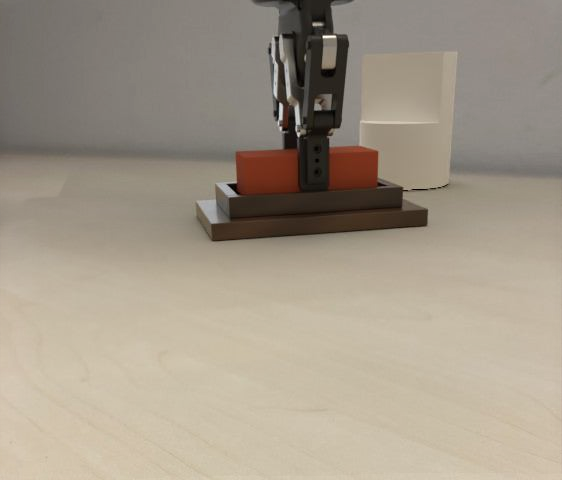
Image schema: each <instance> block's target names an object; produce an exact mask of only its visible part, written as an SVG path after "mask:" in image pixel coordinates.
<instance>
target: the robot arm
mask: <svg viewBox="0 0 562 480" xmlns="http://www.w3.org/2000/svg"><path fill="white" fill-rule="evenodd" d="M354 1H355V0H250V2H251V3H253V5H256V6H258V7H263V8H276V9H277V10H278V14H279V16H278V24H277V35H272V37H271V42H269V43H268V47H267V55H268V60H269V72H270V83H271V84H270V86H271V96H272V97H271V98H272V117H273V119H274V121H275V122H277V127H278V129H279V132H281V140H282V143H281V144H282V149H297V155H298V187H299V188H300V190H302V191H315V190H327V189H328V187H329V147H330V137H333V135H334V133H335V130H337V129H338V130H339V129H340V128H341V126H342V122H343V108H344V97H345V88H346V87H345V86H346V78H347V65H348V56H349V49H350V41H349V36H348V34H346V33H337V32H335V31H334V29H335V28H334V26H335V25H334V19H333V9H332V7H334V6H341V5H346V4H347V5H348V4H350V3H352V2H354ZM315 104H318V105H319V106H320V108H321V109H318V110H317V109H316V110H315V106H316V105H315Z"/></svg>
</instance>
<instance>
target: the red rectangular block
mask: <svg viewBox="0 0 562 480" xmlns="http://www.w3.org/2000/svg"><path fill="white" fill-rule="evenodd" d="M235 171H236V173H235V175H236V182H237V191H238V192H239V193H240V194H241V195H248V194H265V193H281V192H298V191H302V190H300V188H299V187H298V155H297V149H283V148H281V149H280V148H279V149H260V150H259V149H257V150H240V151H239V150H237V151H235ZM377 184H378V151H376V150H373V149H369V148H366V147H362V146H359V145H343V146H341V145H340V146H329V187H328V189H327V190H332V189H348V188H365V187H377Z"/></svg>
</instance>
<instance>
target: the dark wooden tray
mask: <svg viewBox="0 0 562 480" xmlns="http://www.w3.org/2000/svg"><path fill="white" fill-rule="evenodd" d="M214 191H215V194H214V195H215V199H202V200H200V199H199V200H196V201H195V210H196V216H197V218H198V219H199V221H200V223H201V224H202V227H203V228H204V229H205V231H206V232H207V234H208V236H209V238H210V239H211V241H212V242H213V241H214V242H215V241H216V242H217V241H228V240H241V239H242V240H244V239H257V238H269V237H270V238H271V237H272V238H273V237H284V236H285V237H286V236H297V235H311V234H312V235H313V234H314V235H315V234H327V233H339V232H341V233H342V232H353V231H354V232H355V231H368V230H369V231H370V230H383V229H394V228H395V229H396V228H398V229H399V228H410V227H411V228H413V227H422V226H423V227H424V226H428V222H429V221H428V220H429V209H428V208H426V207H424V206H421V205H419V204H417V203H414V202H412V201H409V200H407V199H405V198H404V191H403V187H402V186H399V185H396V184H394V183H391V182H389V181H386V180H383V179H381V178H378V184H377V187H365V188H348V189H332V190H315V191H298V192H281V193H265V194H248V195H241V194H240V193H239V192H238V191H237V181H225V182H215V183H214Z"/></svg>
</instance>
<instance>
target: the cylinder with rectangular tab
mask: <svg viewBox="0 0 562 480" xmlns="http://www.w3.org/2000/svg"><path fill="white" fill-rule="evenodd" d="M458 54H459V51H458V50H443V51H441V50H439V51H417V52H416V51H414V52H413V51H412V52H391V53H390V52H389V53H365V54H364V53H363V54H361V55H362V56H361V100H360V101H361V103H360V104H361V105H360V107H361V108H360V120H359V139H358V141H359V142H358V143H359V145H358V146H362V147H366V148H369V149H373V150H376V151H378V178H381V179H383V180H386V181H389V182H391V183H394V184H396V185H399V186H402V187H403V190H406V189H422V188H432V187H438V186H443V185H446V184H447V183H449V184H450V173H451V158H452V144H453V129H454V113H455V97H456V85H457V84H456V83H457V82H456V81H457V70H458V69H457V68H458V56H459V55H458Z"/></svg>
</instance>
